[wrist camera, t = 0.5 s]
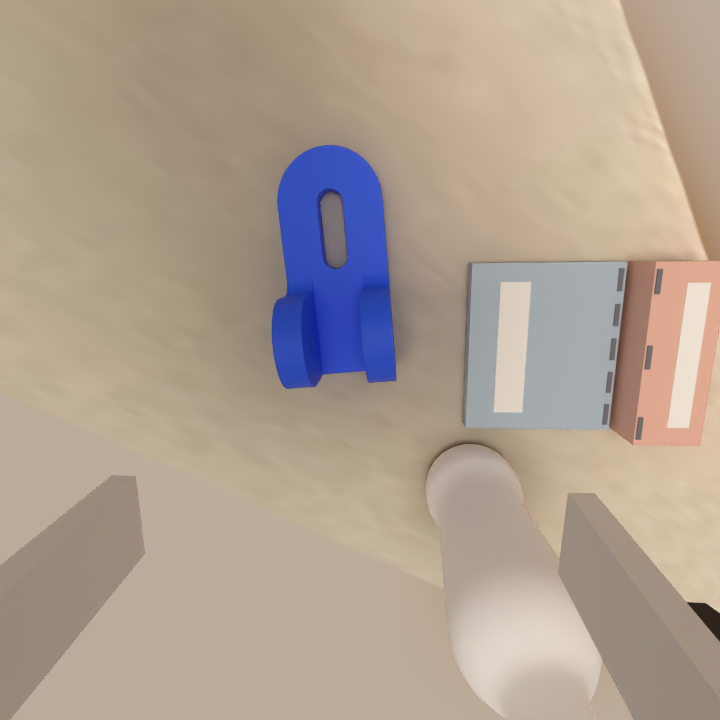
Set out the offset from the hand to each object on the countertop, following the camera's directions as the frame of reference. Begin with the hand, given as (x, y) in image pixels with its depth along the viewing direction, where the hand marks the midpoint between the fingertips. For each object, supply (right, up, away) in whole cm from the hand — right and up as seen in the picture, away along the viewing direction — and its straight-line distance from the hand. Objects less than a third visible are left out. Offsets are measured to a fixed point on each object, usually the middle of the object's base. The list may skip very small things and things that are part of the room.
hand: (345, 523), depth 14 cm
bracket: (-1, +13, +25) cm, 28 cm away
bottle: (+10, -6, +28) cm, 31 cm away
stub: (+24, +6, +24) cm, 35 cm away
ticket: (+16, +6, +25) cm, 30 cm away
